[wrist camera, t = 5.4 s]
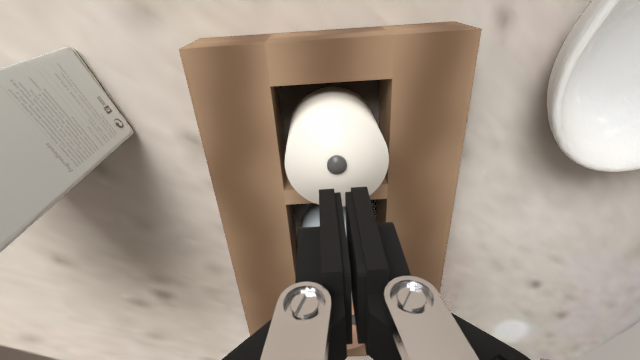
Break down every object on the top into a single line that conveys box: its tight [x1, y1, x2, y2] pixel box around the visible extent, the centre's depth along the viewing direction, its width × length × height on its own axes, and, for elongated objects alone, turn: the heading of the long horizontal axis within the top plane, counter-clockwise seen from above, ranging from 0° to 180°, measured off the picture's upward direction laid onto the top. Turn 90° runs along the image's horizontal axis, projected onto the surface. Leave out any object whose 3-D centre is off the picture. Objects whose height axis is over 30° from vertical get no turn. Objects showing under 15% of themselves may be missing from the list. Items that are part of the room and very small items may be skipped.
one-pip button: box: [285, 87, 389, 207], centre depth 18 cm, size 5×5×5 cm
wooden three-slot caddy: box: [179, 22, 481, 357], centre depth 23 cm, size 14×24×4 cm, turn 3°
